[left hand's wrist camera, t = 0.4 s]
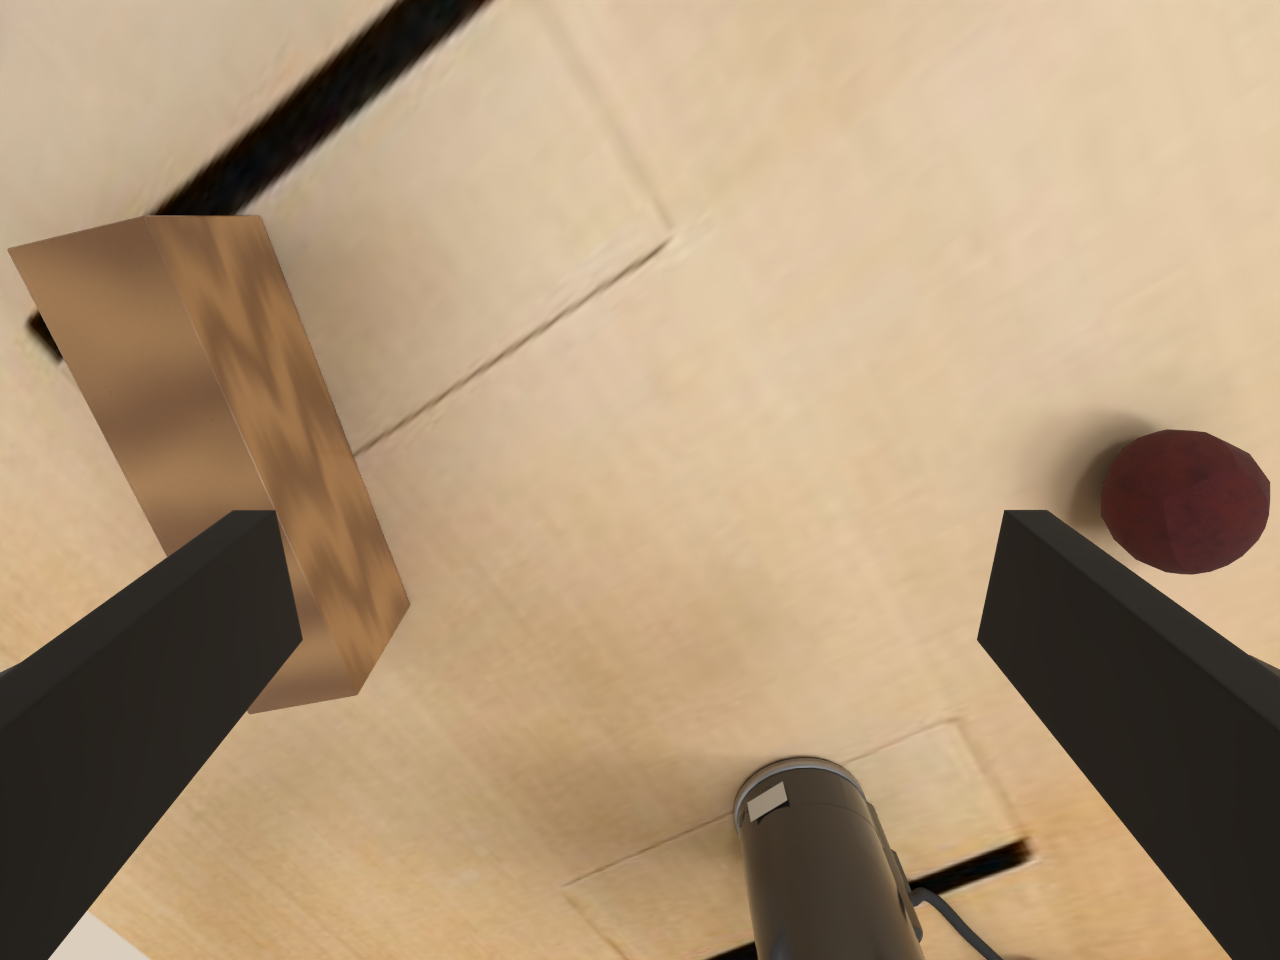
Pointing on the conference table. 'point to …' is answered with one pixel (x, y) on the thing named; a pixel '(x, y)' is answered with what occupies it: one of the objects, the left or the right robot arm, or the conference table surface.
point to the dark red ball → (1185, 501)
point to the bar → (224, 418)
